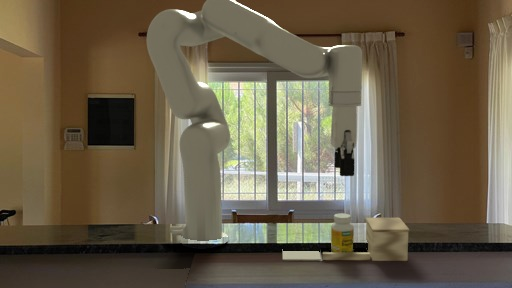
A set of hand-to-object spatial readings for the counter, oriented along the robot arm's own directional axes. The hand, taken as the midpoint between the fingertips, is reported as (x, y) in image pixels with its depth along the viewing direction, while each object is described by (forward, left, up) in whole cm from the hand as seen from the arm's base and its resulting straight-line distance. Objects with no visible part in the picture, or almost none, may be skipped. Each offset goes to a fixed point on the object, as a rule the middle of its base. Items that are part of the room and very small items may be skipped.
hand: (343, 171), depth 115 cm
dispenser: (+4, 0, -20) cm, 21 cm away
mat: (-10, 0, -20) cm, 23 cm away
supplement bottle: (0, 0, -20) cm, 21 cm away
